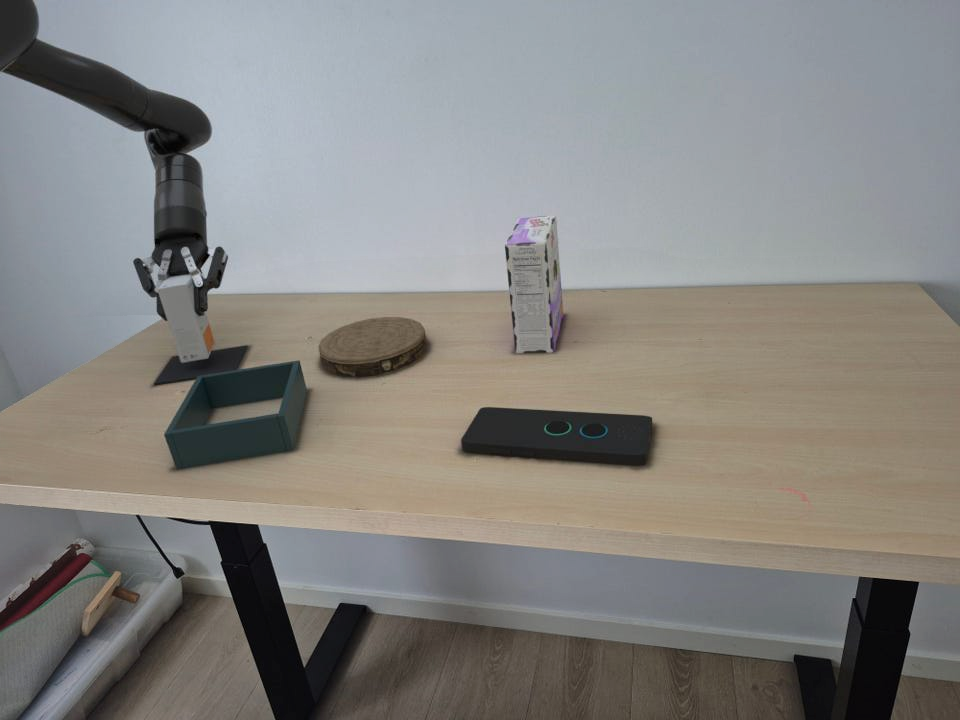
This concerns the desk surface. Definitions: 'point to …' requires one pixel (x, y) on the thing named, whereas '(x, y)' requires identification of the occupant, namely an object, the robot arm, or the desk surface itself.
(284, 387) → the storage box
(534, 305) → the candy box
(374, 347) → the brown flat disc
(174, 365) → the desk pad
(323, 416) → the desk surface
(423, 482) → the desk surface
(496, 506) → the desk surface
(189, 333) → the cosmetic box
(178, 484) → the desk surface
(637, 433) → the smart home device
